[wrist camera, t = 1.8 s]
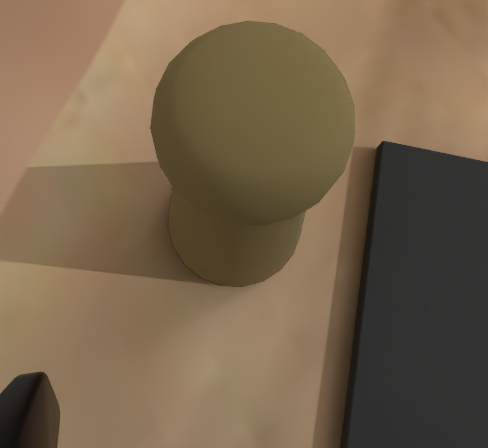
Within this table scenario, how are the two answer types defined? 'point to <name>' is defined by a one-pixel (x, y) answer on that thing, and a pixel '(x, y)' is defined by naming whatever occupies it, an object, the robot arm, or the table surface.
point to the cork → (248, 146)
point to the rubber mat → (422, 306)
